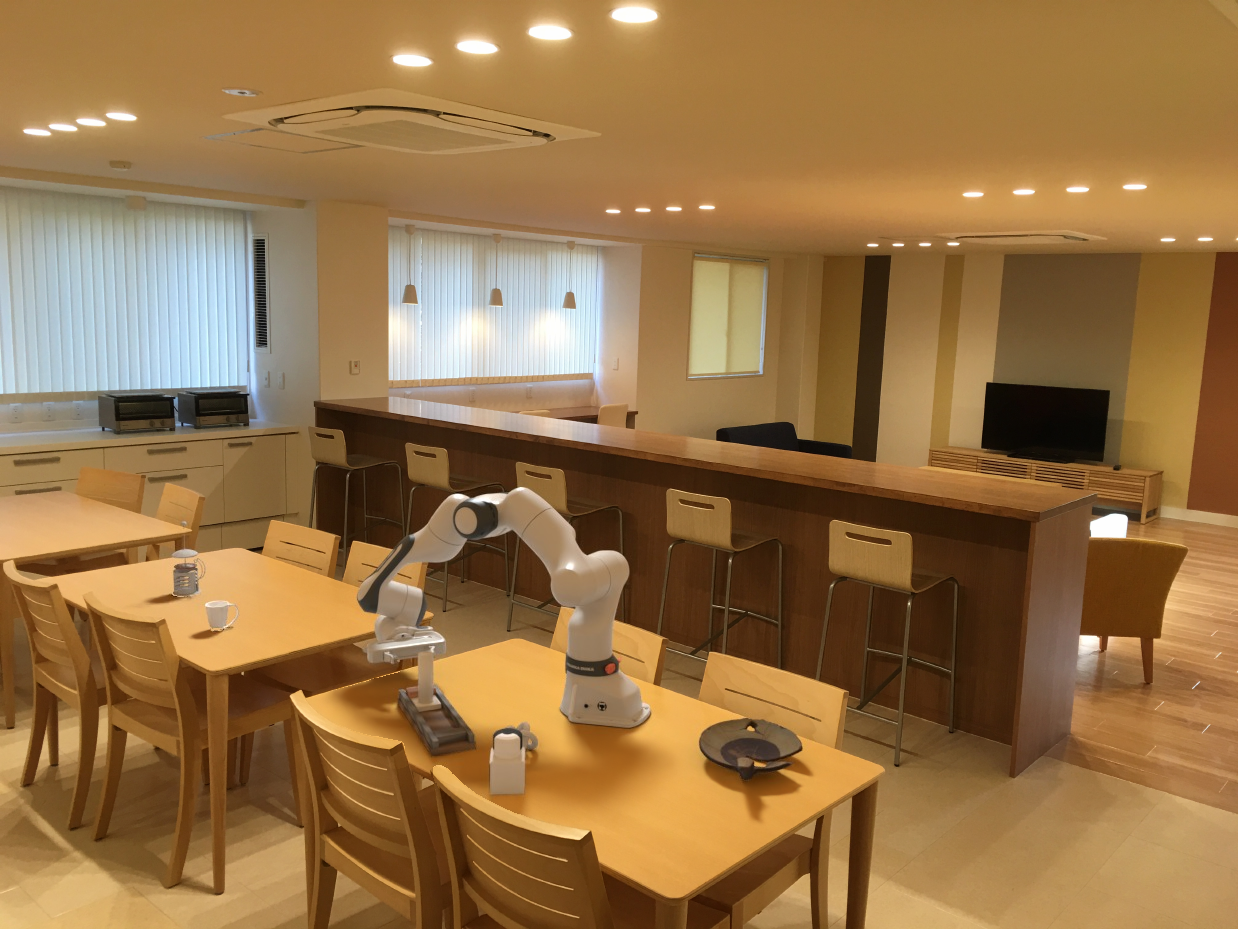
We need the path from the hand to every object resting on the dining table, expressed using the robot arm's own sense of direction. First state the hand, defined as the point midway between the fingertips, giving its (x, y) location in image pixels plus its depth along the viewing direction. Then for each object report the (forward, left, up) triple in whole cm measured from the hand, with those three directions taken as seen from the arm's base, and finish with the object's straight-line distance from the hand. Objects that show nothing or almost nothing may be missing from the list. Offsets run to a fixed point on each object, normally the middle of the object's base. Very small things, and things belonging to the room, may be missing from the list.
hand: (413, 658), depth 245 cm
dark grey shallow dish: (-87, +3, -10) cm, 88 cm away
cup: (+81, -19, -10) cm, 84 cm away
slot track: (-15, +14, -10) cm, 22 cm away
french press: (+118, -42, -10) cm, 126 cm away
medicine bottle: (-45, +33, -10) cm, 57 cm away
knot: (-40, +17, -10) cm, 45 cm away
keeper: (-9, +8, -8) cm, 15 cm away
